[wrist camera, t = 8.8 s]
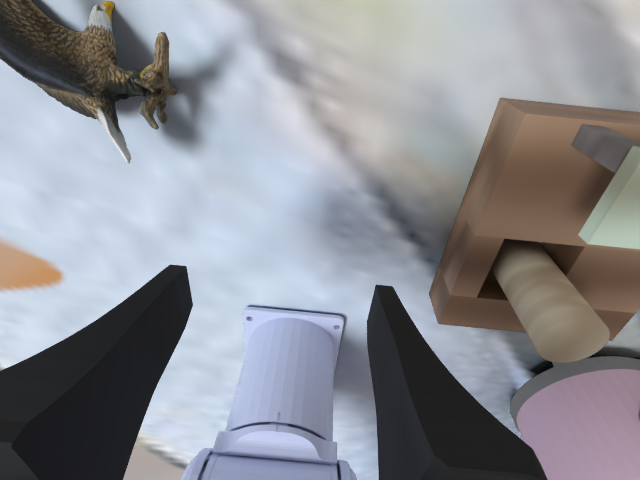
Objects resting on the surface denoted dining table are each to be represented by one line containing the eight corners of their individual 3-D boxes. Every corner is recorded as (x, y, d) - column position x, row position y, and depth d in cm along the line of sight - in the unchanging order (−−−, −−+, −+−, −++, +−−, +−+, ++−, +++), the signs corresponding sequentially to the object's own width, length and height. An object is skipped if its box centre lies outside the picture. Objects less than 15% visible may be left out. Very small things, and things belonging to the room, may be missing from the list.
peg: (542, 231, 23) (625, 326, 16) (516, 268, 25) (581, 367, 18) (496, 221, 23) (561, 313, 16) (473, 259, 24) (524, 356, 18)
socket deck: (586, 308, 26) (657, 398, 20) (428, 293, 26) (455, 379, 20) (725, 121, 18) (907, 179, 13) (500, 98, 18) (577, 145, 12)
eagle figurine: (191, -33, 15) (-81, -155, 12) (147, 99, 12) (-211, -15, 10) (185, 88, 22) (9, 29, 19) (155, 189, 19) (-53, 139, 16)
